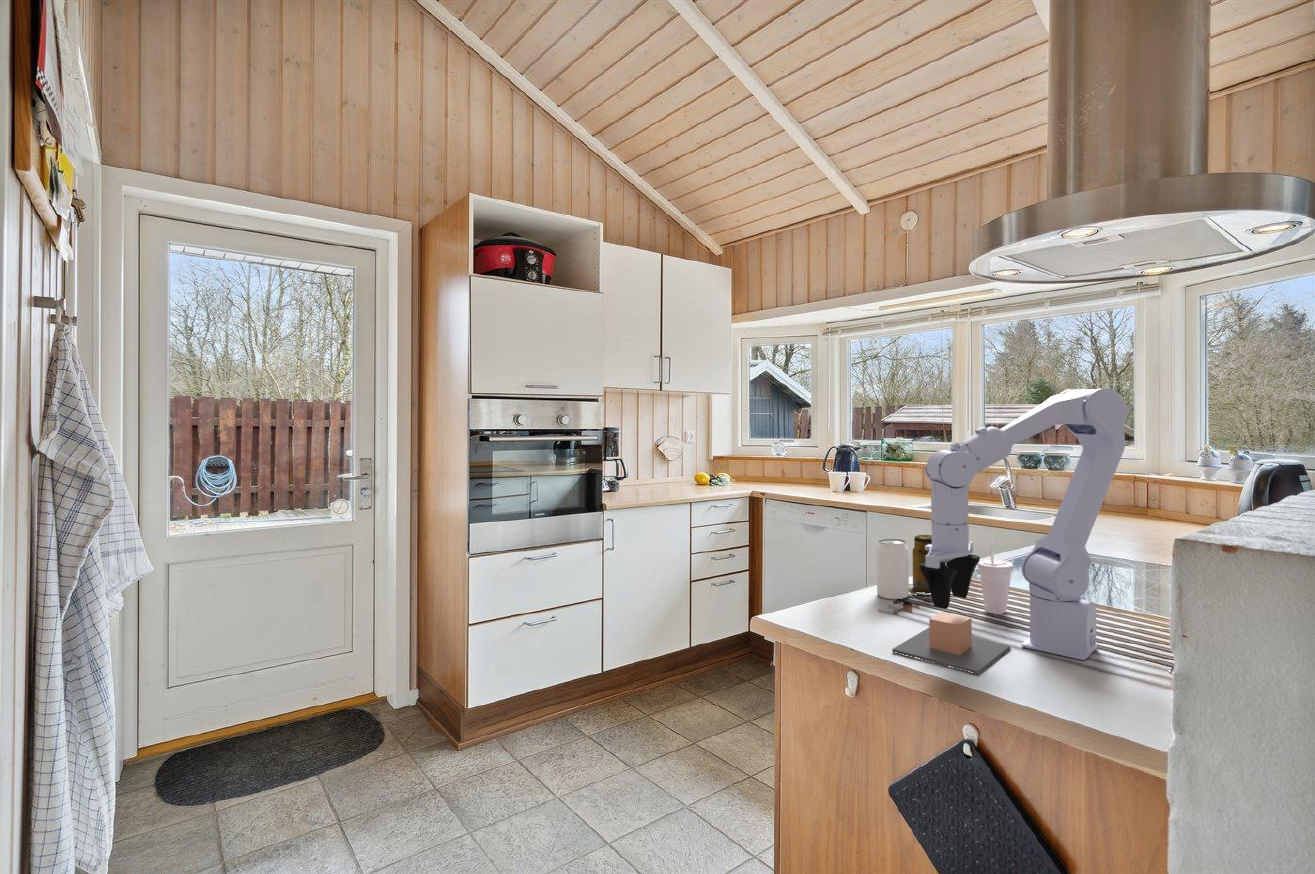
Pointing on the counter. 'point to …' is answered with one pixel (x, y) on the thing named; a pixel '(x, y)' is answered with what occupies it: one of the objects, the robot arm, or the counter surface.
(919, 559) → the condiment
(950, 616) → the cube
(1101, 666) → the counter surface
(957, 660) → the mat
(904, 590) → the can
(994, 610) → the smoothie
